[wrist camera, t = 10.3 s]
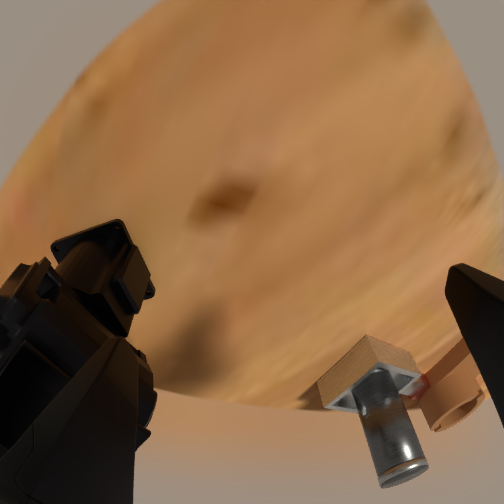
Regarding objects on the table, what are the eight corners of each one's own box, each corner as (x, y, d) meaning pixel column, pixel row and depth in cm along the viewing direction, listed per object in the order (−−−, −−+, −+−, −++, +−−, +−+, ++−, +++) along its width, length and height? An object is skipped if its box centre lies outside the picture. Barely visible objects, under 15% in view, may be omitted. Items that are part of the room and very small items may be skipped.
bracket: (430, 396, 38) (447, 432, 32) (401, 390, 35) (420, 431, 29) (515, 311, 31) (542, 344, 25) (500, 291, 28) (532, 329, 22)
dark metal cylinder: (343, 397, 29) (370, 491, 19) (364, 370, 26) (401, 472, 17) (377, 396, 29) (408, 482, 20) (399, 370, 27) (439, 461, 18)
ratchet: (366, 334, 27) (378, 361, 24) (448, 366, 33) (458, 385, 30) (316, 381, 30) (323, 407, 27) (408, 400, 36) (416, 419, 33)
